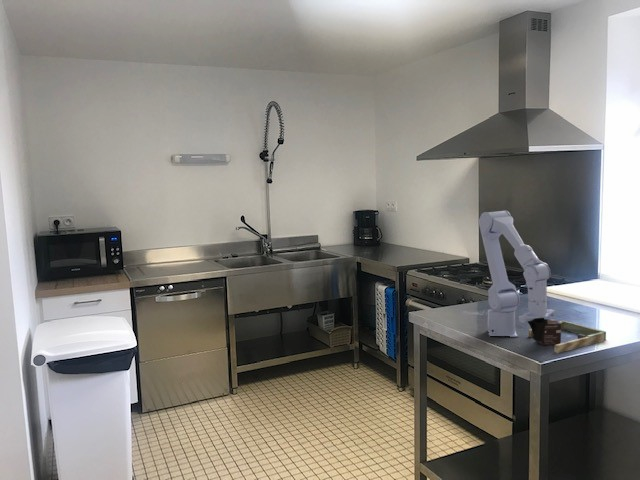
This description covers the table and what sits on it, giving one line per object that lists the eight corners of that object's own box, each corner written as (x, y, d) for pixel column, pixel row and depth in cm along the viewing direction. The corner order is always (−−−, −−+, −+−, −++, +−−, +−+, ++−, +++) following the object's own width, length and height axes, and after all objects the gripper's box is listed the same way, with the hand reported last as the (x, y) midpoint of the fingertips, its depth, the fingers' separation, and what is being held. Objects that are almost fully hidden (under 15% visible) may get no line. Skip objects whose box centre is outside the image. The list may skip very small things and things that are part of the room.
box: (542, 345, 174) (542, 324, 173) (535, 340, 180) (536, 319, 179) (561, 345, 174) (561, 323, 173) (553, 339, 179) (554, 318, 179)
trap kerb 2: (583, 344, 173) (583, 336, 173) (577, 343, 175) (577, 334, 175) (586, 344, 174) (586, 335, 173) (580, 342, 175) (580, 333, 175)
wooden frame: (557, 353, 166) (557, 344, 166) (515, 339, 182) (515, 331, 181) (605, 340, 176) (606, 331, 176) (562, 328, 191) (562, 320, 191)
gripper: (530, 305, 166) (530, 347, 167) (563, 299, 172) (563, 339, 173) (513, 301, 172) (514, 341, 174) (545, 295, 178) (545, 334, 180)
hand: (537, 340), depth 174 cm, fingers closed
